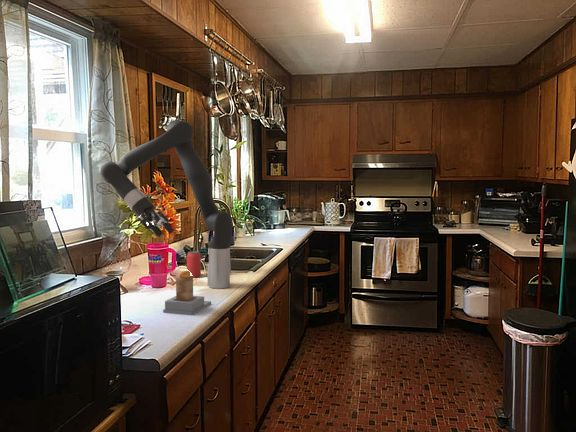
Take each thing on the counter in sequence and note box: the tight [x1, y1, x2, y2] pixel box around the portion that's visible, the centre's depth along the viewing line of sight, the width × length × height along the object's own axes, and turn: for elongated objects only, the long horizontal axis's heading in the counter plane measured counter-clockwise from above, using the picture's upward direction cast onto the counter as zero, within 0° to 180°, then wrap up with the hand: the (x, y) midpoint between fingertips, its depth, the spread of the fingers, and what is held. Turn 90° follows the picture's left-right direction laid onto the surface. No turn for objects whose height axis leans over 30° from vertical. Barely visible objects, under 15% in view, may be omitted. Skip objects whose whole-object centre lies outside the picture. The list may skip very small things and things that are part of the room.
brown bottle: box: [175, 270, 194, 302], centre depth 188 cm, size 4×4×13 cm
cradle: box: [162, 295, 212, 316], centre depth 190 cm, size 12×16×4 cm
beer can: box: [186, 250, 202, 279], centre depth 246 cm, size 7×7×12 cm
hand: (166, 233), depth 195 cm, fingers open, 8 cm apart
